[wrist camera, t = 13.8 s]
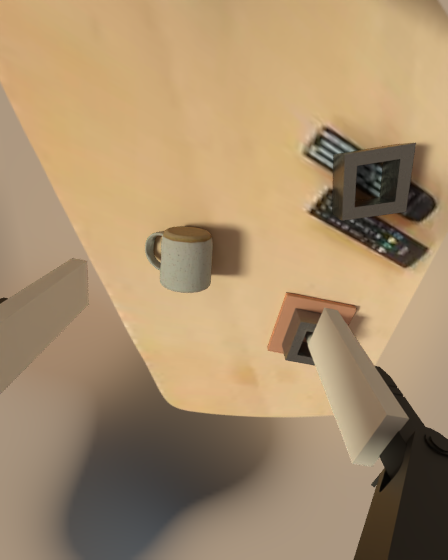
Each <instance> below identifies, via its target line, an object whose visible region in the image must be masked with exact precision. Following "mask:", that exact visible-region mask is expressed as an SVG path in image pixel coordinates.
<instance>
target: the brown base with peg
mask: <svg viewBox="0 0 448 560" xmlns="http://www.w3.org/2000/svg"><path fill="white" fill-rule="evenodd" d="M295 308H298V309H303V310H308V311H314V312H319V313H322V312H323V309H324V308H329V309H334V310H338V312H339V313H340V315H341V316H342V318H343V319H344V321H345V322H346V324H347V325H349V323H350V321H351V319H352V317H353V315H354V313H355V311H356V307H355V306H353V305H348V304H343V303H337V302H332V301H327V300H322V299H317V298H312V297H307V296H302V295H297V294H292V293H287V292H286V295H285V298H284V301H283V304H282V307H281V310H280V312H279V315H278V318H277V321H276V324H275V327H274V330H273V333H272V335H271V338H270V341H269V344H268V351H273V352H278V353H284V352H283V348H282V343H283V340H284V337H285V335H286V332H287V329H288V326H289V324H290V321H291V318H292V316H293V313H294V310H295ZM312 335H313V332H309V331H307V332H306V334H305V337H304V339H303V342H307V343H308V344H309V342H310V339H311V337H312Z"/></svg>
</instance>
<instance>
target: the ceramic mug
mask: <svg viewBox="0 0 448 560" xmlns="http://www.w3.org/2000/svg"><path fill="white" fill-rule="evenodd" d="M158 235H161V236H163V237H162V243H161V263H160V262H159V261H158V260H157V259H156V257H155V256H154V252H153V249H154V242H155V237H156V236H158ZM212 249H213V243H212V236H211V234H210V233H209V232H208V231H206V230H204V229H201V228H195V227H183V226H182V227H172V228H169V229H167V230H166V231H162V232H156V233H153V234H151V235H150V236H149V237H148V238H147V240H146V244H145V252H146V256H147V258H148V260H149V262H150V263H151V264H152V265H153V266H154V267H155V268H157V269H158V270H160V282H161V285H163V286H164V287H165V288H167V289H169V290H172V291H176V292H181V293H194V292H200V291H202V290H205V289H207V288H208V287H209V286H210V283H211V268H212Z"/></svg>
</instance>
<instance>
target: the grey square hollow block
mask: <svg viewBox="0 0 448 560" xmlns="http://www.w3.org/2000/svg"><path fill="white" fill-rule="evenodd" d="M415 145H416V143H406V144H395V145H388V146H382V147H376V148H370V149H364V150H358V151H352V152H345V153H339V154H334V155H333V196H332V215H334V216H336V217H337V218H339V219H340V220H350V219H357V218H364V217H371V216H379V215H386V214H393V213H400V212H406V208H407V201H408V194H409V187H410V180H411V173H412V166H413V159H414V152H415ZM378 162H383V168H382V178H381V188H380V197H377V198H370V199H363V200H356V201H355V192H356V175H357V166H359V165H365V164H372V163H378Z"/></svg>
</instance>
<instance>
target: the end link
mask: <svg viewBox="0 0 448 560" xmlns="http://www.w3.org/2000/svg"><path fill="white" fill-rule="evenodd" d="M321 314H322V313H319V312H314V311H308V310H303V309H298V308H295V310H294V313H293V316H292V318H291V321H290V324H289V326H288V329H287V332H286V335H285V337H284V340H283V343H282V348H283V352H284V356H285V360H288V361H293V362H299V363H304V364H310V365H315V364H314V361H313V358H312V356H311V353H310V350H309V348H308V343H307V342H303V339H304V337H305V334H306V332H307V331H309V332H314V330H315V328H316V326H317V323H318V321H319V319H320V316H321Z"/></svg>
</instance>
